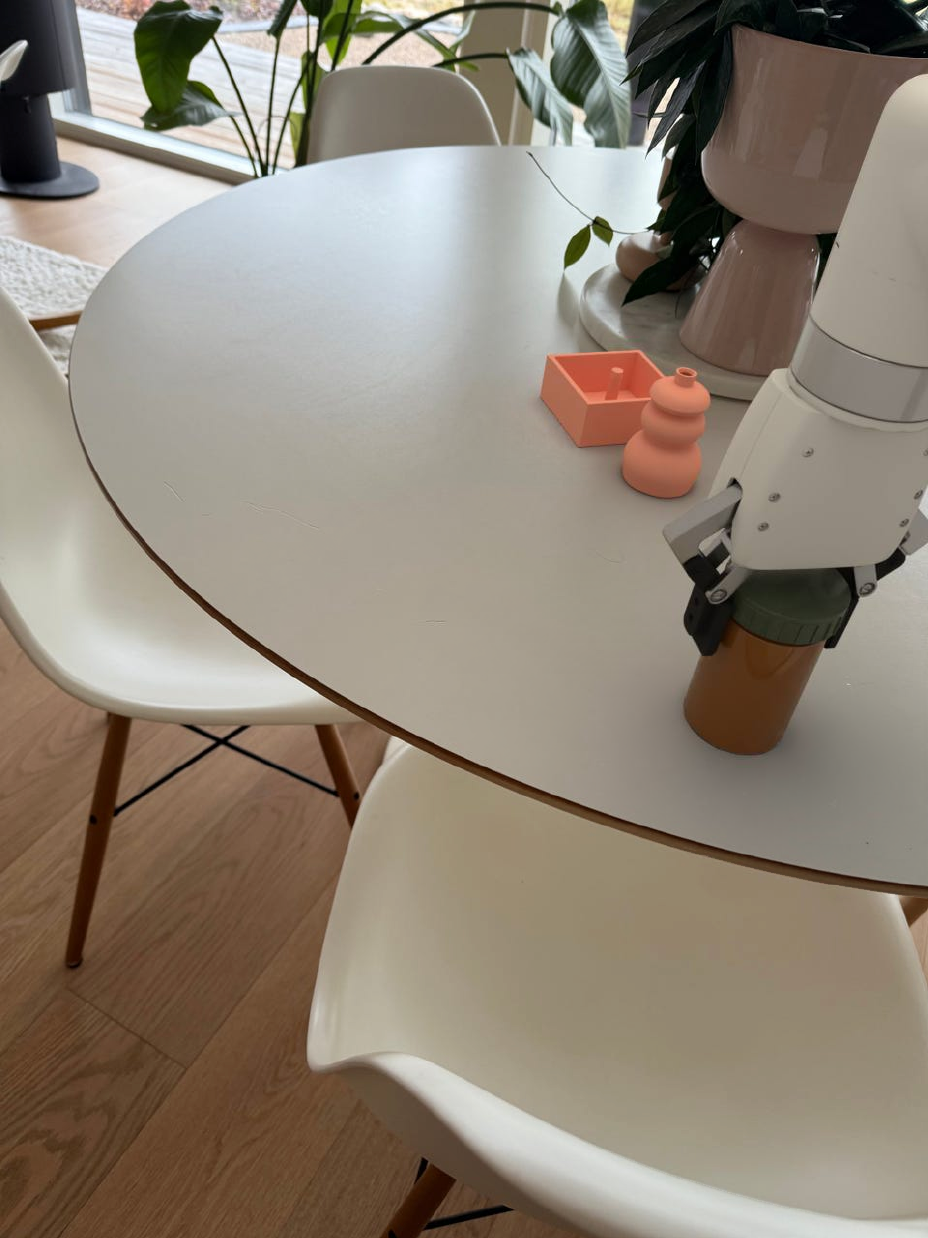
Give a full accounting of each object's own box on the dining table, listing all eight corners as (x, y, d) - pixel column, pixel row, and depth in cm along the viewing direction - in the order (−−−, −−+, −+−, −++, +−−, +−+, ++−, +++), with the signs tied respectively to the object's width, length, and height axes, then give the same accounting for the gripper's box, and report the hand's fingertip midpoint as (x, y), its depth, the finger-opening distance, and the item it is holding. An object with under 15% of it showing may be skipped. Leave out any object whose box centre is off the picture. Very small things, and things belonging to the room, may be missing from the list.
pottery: (539, 396, 94) (558, 294, 87) (630, 390, 97) (654, 291, 90) (622, 505, 81) (650, 396, 75) (723, 494, 84) (758, 388, 78)
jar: (794, 706, 65) (852, 580, 58) (769, 770, 61) (828, 641, 54) (700, 668, 67) (746, 541, 60) (670, 727, 63) (715, 597, 56)
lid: (748, 551, 62) (757, 527, 60) (858, 603, 59) (869, 579, 58) (696, 605, 57) (705, 580, 56) (813, 664, 54) (824, 639, 53)
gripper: (982, 333, 53) (856, 590, 65) (679, 327, 49) (602, 602, 61) (1073, 406, 48) (917, 672, 59) (741, 405, 44) (644, 691, 55)
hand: (759, 635), depth 60 cm, fingers open, 7 cm apart
